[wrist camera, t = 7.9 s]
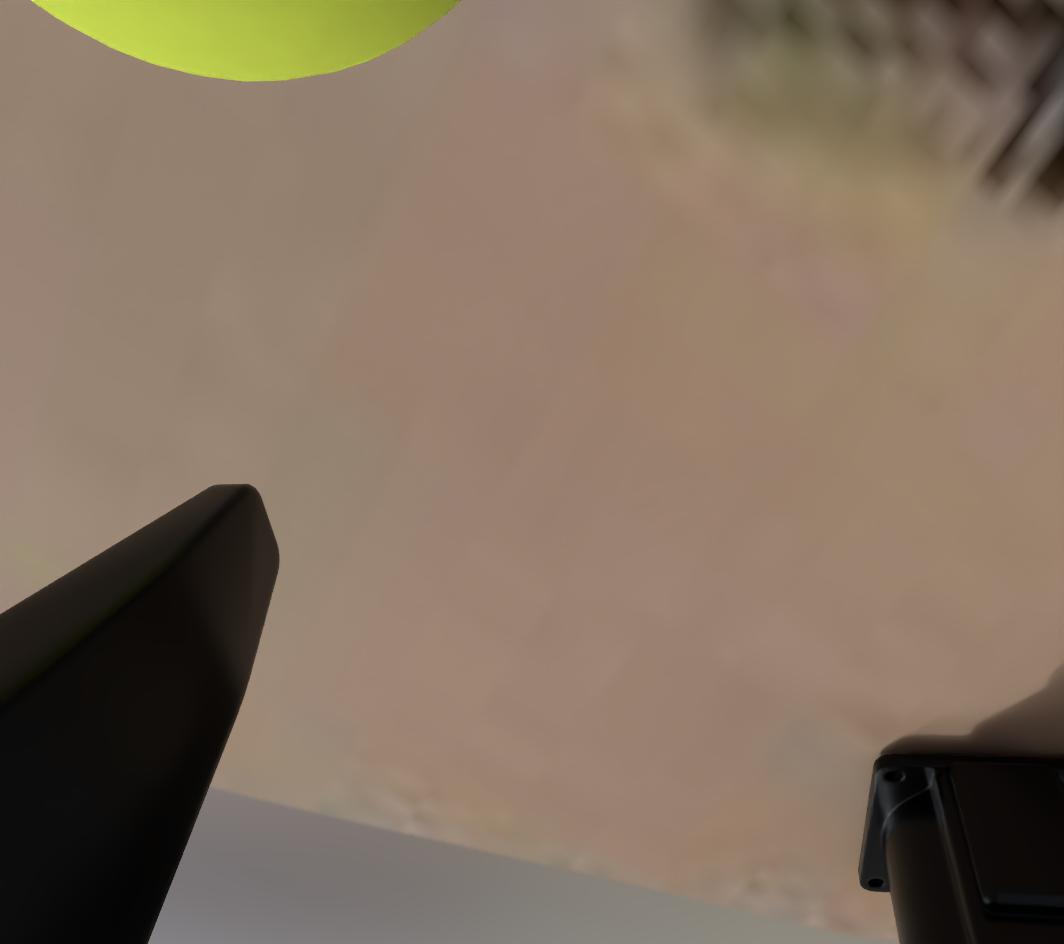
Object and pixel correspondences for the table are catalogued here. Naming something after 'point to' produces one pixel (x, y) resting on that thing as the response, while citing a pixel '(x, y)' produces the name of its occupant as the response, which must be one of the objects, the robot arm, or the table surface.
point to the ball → (251, 32)
